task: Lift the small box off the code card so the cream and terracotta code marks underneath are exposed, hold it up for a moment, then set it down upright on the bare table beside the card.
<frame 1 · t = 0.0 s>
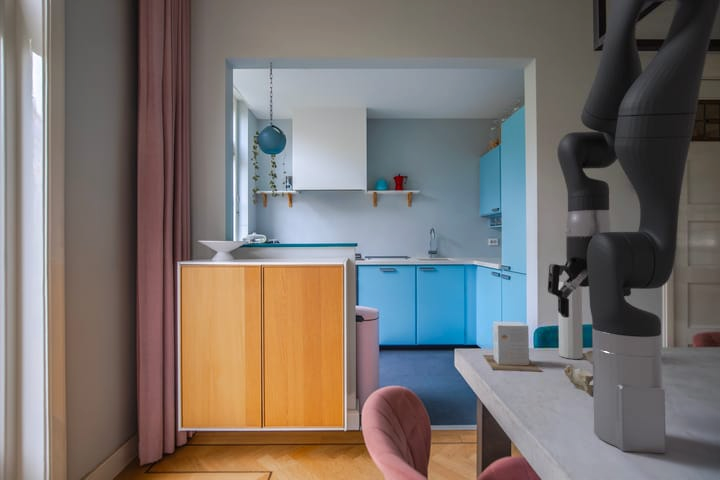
hand: (588, 317, 77), 17 cm above the table, tool pointing down, fingers open, 8 cm apart
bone: (587, 392, 84), on the table
paper towel roll: (572, 357, 112), on the table
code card: (510, 362, 106), on the table
small box: (510, 363, 106), resting on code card
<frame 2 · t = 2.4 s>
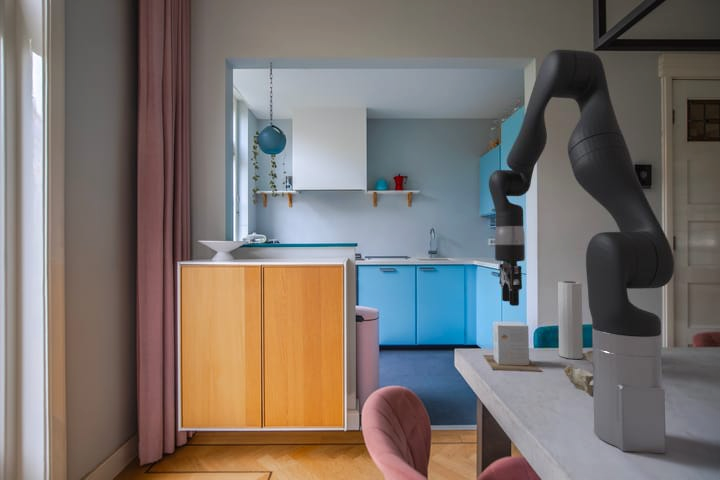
hand: (510, 303, 106), 16 cm above the table, tool pointing down, fingers open, 8 cm apart
nothing on the table moved.
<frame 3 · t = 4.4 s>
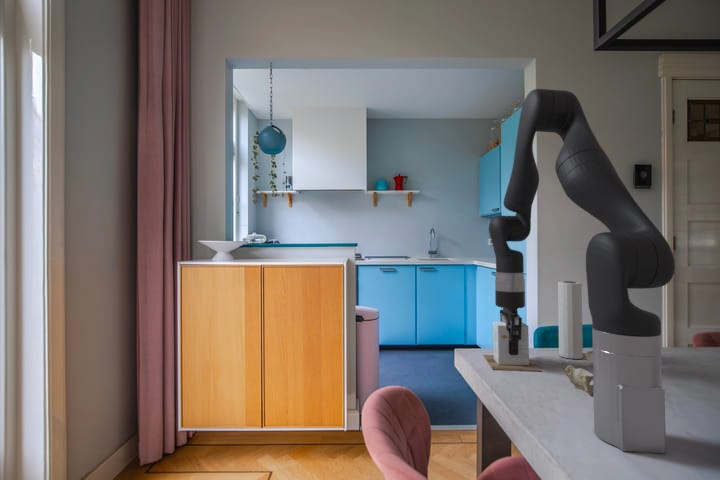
hand: (510, 351, 106), 3 cm above the table, tool pointing down, fingers closed on small box, 5 cm apart
small box: (510, 363, 106), resting on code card, touching gripper
everything else where it was.
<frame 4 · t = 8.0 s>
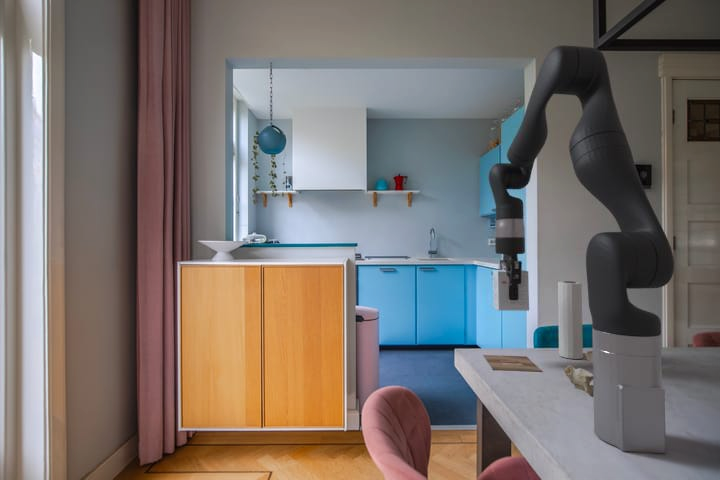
hand: (510, 298, 106), 17 cm above the table, tool pointing down, fingers closed on small box, 5 cm apart
small box: (510, 310, 106), point 14 cm above the table, touching gripper
everything else where it was.
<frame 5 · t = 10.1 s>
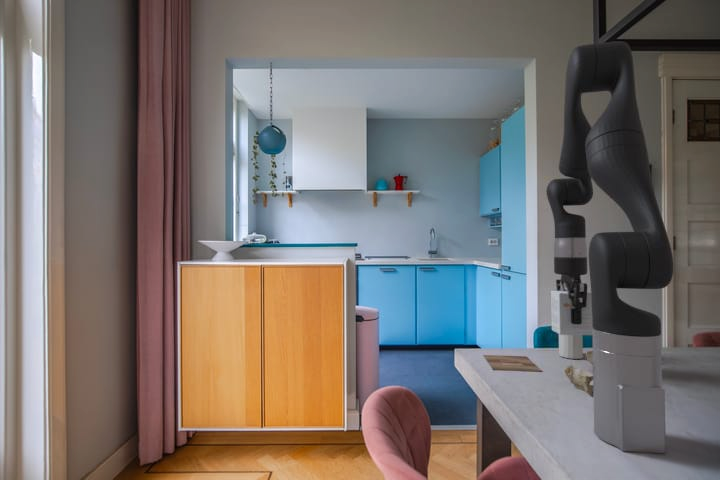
hand: (571, 321, 100), 12 cm above the table, tool pointing down, fingers closed on small box, 5 cm apart
small box: (571, 333, 100), point 9 cm above the table, touching gripper
everything else where it was.
when the fingers open (4 cm above the table, at t = 11.9 s): small box drops 2 cm, on the table.
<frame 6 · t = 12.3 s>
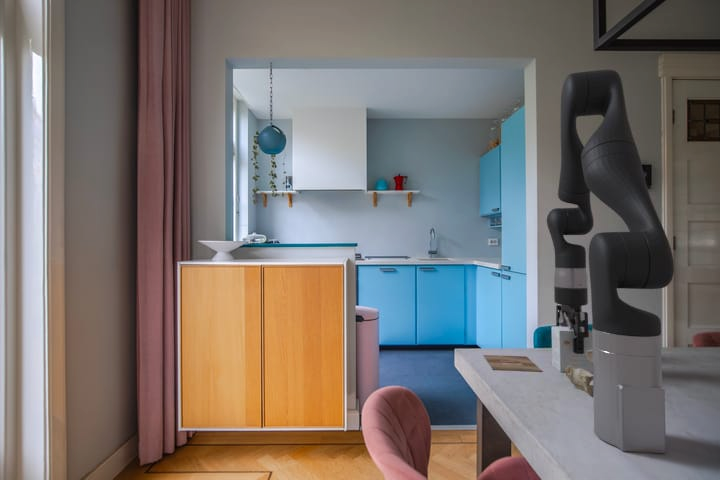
hand: (571, 349, 100), 5 cm above the table, tool pointing down, fingers open, 8 cm apart
small box: (572, 370, 100), on the table
everything else where it was.
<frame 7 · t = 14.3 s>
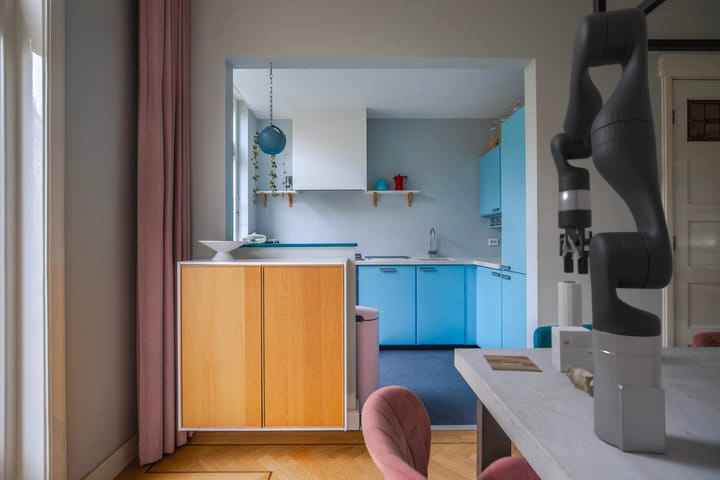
hand: (575, 273, 99), 24 cm above the table, tool pointing down, fingers open, 8 cm apart
nothing on the table moved.
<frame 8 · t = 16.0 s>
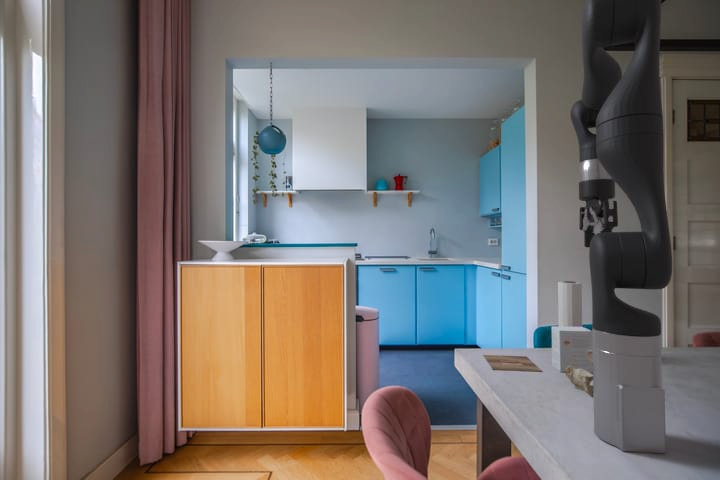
hand: (597, 247, 94), 31 cm above the table, tool pointing down, fingers open, 8 cm apart
nothing on the table moved.
at the end: small box inside the target area (0.1 cm from its centre), on the table; small box tilted 0°; small box touching table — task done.
